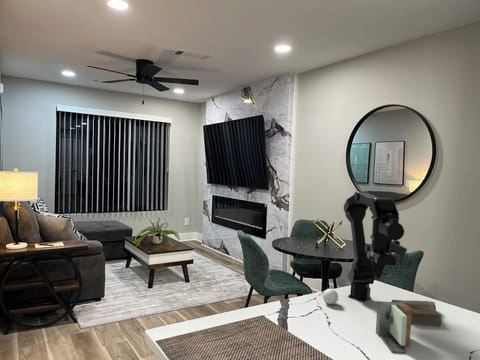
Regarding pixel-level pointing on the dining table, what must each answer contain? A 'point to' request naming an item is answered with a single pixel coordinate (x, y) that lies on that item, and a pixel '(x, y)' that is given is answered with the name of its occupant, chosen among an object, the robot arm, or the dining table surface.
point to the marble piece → (423, 312)
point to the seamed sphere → (330, 296)
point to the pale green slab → (398, 324)
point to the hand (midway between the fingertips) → (378, 278)
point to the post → (408, 313)
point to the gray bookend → (387, 326)
